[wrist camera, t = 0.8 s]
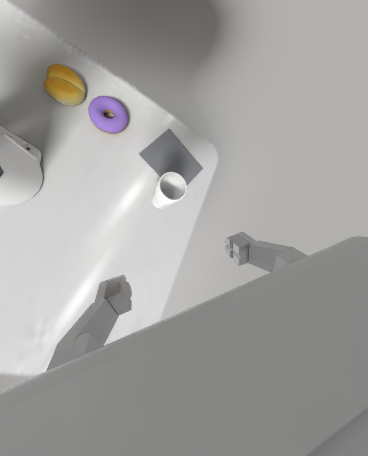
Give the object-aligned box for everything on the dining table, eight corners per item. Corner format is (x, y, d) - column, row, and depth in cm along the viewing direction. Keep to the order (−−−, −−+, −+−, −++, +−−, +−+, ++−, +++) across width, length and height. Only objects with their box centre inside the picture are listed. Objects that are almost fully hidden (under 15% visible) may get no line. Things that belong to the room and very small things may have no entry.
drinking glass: (148, 189, 44) (157, 169, 30) (169, 190, 47) (186, 172, 33) (149, 211, 44) (159, 201, 30) (170, 210, 47) (188, 201, 33)
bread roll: (44, 98, 36) (34, 83, 32) (53, 68, 37) (44, 49, 33) (82, 113, 39) (77, 101, 35) (89, 85, 40) (85, 69, 36)
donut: (109, 143, 41) (103, 128, 36) (85, 119, 40) (76, 102, 36) (135, 126, 43) (133, 110, 39) (113, 104, 43) (109, 86, 38)
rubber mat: (139, 154, 44) (139, 153, 43) (168, 129, 47) (169, 128, 47) (177, 194, 48) (178, 194, 47) (202, 169, 52) (202, 168, 51)
